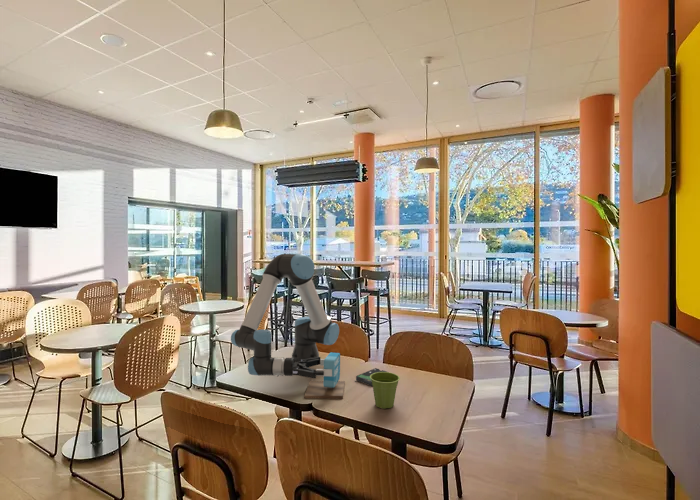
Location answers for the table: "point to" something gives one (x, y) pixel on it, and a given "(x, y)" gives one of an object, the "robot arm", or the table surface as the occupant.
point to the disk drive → (367, 376)
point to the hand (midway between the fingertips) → (333, 367)
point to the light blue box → (332, 363)
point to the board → (324, 390)
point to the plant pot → (384, 388)
